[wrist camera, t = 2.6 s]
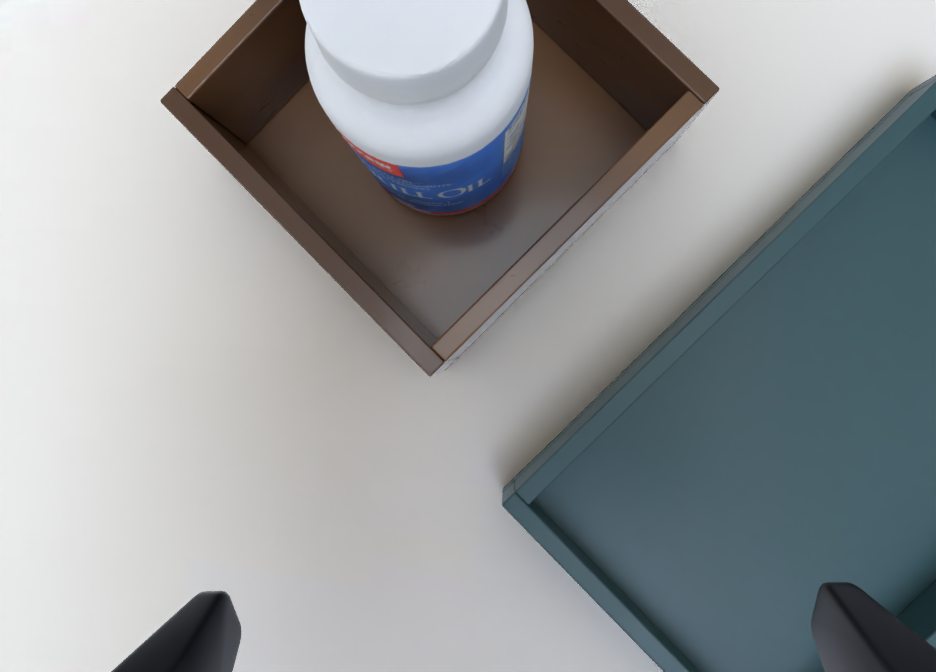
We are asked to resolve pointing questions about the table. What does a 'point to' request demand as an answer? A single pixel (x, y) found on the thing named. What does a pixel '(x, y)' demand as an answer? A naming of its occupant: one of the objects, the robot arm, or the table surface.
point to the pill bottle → (425, 92)
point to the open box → (460, 235)
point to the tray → (770, 432)
